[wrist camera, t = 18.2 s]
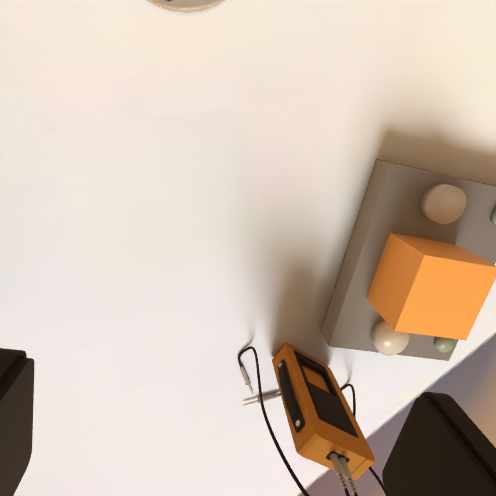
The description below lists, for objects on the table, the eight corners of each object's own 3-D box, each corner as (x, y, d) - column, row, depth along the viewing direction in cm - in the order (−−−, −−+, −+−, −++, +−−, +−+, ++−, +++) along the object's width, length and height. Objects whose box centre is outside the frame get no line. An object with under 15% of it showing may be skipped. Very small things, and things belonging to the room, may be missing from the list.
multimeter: (210, 388, 44) (215, 593, 25) (258, 326, 41) (304, 502, 23) (304, 432, 48) (368, 636, 29) (352, 378, 46) (455, 562, 27)
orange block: (390, 232, 36) (424, 255, 30) (455, 244, 37) (500, 268, 31) (366, 298, 38) (394, 330, 32) (428, 307, 39) (465, 340, 34)
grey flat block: (376, 159, 36) (399, 165, 32) (504, 188, 39) (540, 197, 34) (320, 330, 42) (333, 354, 38) (433, 345, 45) (456, 369, 41)
